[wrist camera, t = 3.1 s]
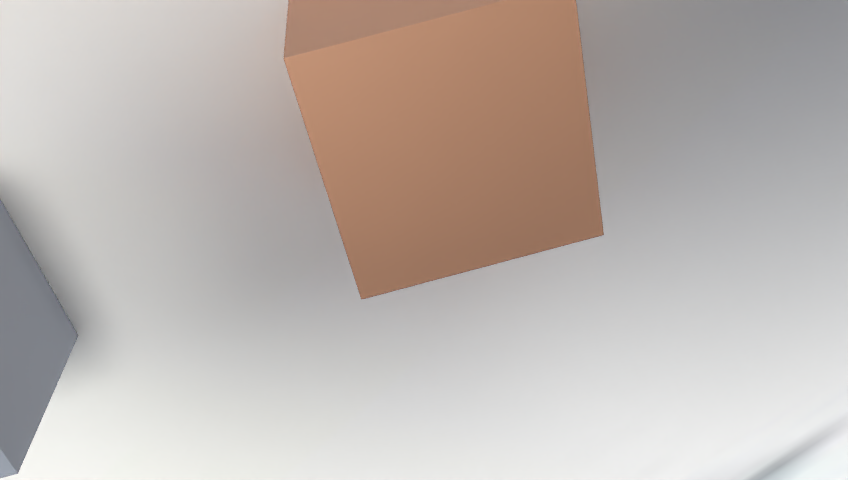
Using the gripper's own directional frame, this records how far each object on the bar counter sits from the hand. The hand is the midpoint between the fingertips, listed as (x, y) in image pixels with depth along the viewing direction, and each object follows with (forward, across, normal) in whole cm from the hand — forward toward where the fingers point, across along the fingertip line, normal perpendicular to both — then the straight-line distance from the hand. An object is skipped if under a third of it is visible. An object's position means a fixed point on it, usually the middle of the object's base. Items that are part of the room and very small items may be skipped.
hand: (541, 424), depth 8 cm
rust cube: (+12, -1, 0) cm, 12 cm away
